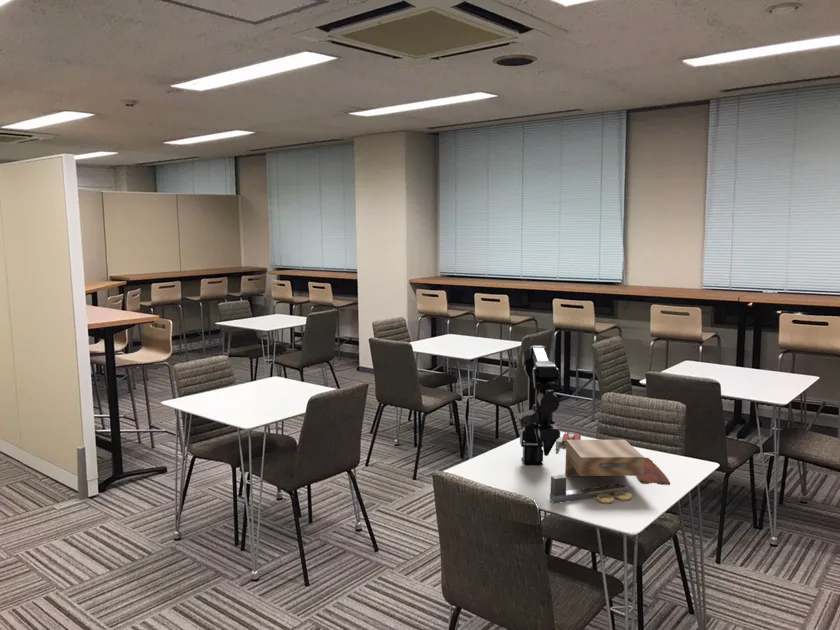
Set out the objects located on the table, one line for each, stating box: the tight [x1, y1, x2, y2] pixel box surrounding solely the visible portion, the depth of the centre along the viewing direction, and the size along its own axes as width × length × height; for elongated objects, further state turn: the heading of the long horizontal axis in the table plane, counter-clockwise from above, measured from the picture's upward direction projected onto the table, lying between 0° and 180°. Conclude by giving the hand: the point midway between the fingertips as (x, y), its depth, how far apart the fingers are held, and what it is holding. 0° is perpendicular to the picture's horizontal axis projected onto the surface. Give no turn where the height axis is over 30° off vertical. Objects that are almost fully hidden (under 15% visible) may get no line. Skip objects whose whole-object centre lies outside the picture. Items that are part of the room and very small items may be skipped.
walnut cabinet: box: [564, 439, 645, 477], centre depth 214 cm, size 20×19×12 cm
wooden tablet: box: [636, 456, 671, 485], centre depth 228 cm, size 27×10×2 cm, turn 174°
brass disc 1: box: [596, 494, 615, 505], centre depth 201 cm, size 5×5×2 cm
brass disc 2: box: [613, 491, 632, 502], centre depth 203 cm, size 5×5×2 cm
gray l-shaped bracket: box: [549, 474, 629, 504], centre depth 204 cm, size 26×3×8 cm, turn 108°
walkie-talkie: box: [555, 431, 582, 452], centre depth 254 cm, size 9×4×20 cm
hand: (542, 450), depth 210 cm, fingers open, 9 cm apart
